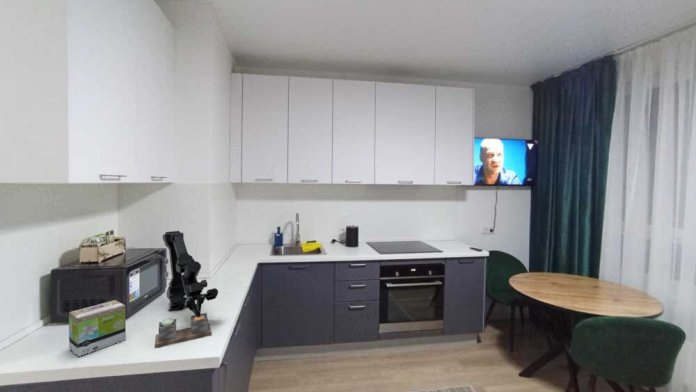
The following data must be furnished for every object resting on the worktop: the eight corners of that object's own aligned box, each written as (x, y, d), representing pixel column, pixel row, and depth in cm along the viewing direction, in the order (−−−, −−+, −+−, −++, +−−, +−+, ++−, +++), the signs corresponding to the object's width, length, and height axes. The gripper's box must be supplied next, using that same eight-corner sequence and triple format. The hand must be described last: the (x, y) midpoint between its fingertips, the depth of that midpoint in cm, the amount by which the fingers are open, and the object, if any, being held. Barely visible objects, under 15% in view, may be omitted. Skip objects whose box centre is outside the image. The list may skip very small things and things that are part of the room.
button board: (154, 348, 115) (154, 330, 115) (155, 338, 122) (155, 321, 122) (211, 335, 125) (211, 318, 125) (209, 326, 132) (209, 311, 132)
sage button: (160, 328, 118) (159, 323, 118) (163, 323, 122) (163, 318, 122) (171, 327, 119) (171, 322, 119) (175, 322, 123) (174, 317, 123)
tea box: (78, 358, 108) (77, 318, 107) (68, 350, 113) (67, 311, 113) (126, 340, 121) (125, 304, 120) (115, 333, 126) (115, 298, 125)
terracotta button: (192, 324, 124) (192, 319, 124) (194, 320, 128) (194, 315, 128) (203, 323, 125) (203, 318, 125) (205, 318, 129) (205, 314, 129)
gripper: (169, 279, 123) (177, 314, 115) (216, 270, 136) (226, 301, 128) (165, 292, 129) (172, 327, 121) (210, 283, 142) (219, 313, 134)
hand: (199, 316), depth 126 cm, fingers closed, pressing on terracotta button
